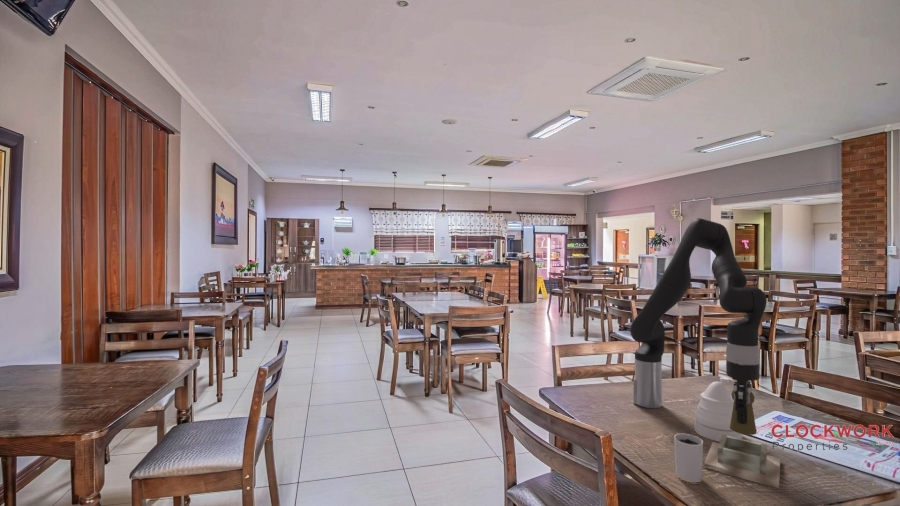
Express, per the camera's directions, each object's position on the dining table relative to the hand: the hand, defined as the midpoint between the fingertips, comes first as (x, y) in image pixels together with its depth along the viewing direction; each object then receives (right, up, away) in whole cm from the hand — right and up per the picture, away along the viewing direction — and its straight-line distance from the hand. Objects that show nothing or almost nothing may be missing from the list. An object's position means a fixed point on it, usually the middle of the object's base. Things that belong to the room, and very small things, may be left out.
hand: (742, 421), depth 115 cm
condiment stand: (0, -12, 0) cm, 12 cm away
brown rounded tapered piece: (0, -2, 0) cm, 2 cm away
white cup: (-18, -12, -6) cm, 23 cm away
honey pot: (+6, -12, +20) cm, 24 cm away
